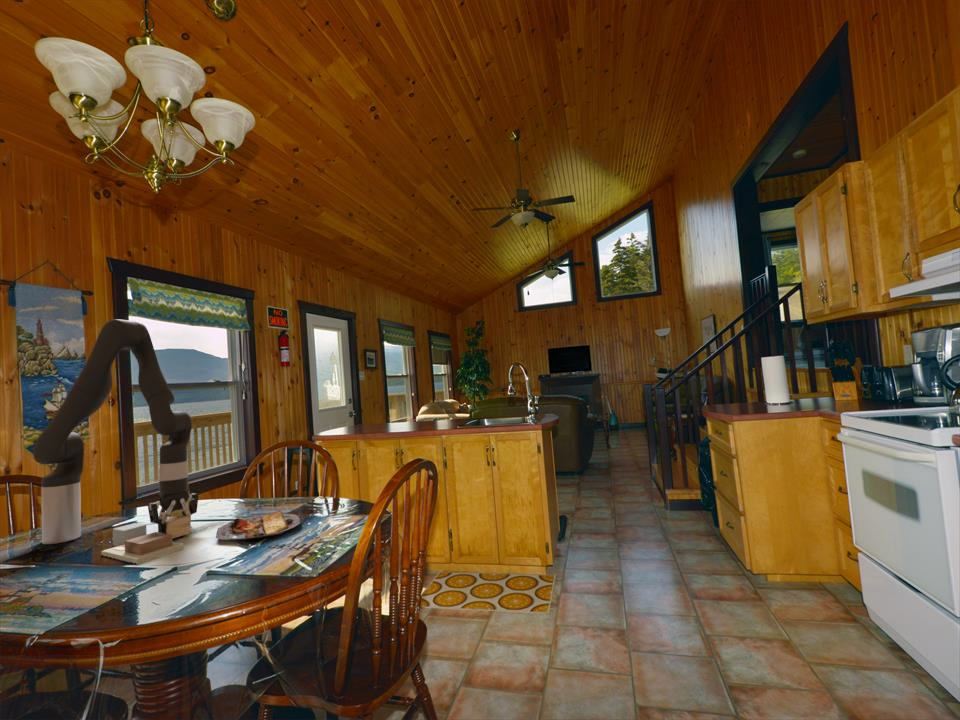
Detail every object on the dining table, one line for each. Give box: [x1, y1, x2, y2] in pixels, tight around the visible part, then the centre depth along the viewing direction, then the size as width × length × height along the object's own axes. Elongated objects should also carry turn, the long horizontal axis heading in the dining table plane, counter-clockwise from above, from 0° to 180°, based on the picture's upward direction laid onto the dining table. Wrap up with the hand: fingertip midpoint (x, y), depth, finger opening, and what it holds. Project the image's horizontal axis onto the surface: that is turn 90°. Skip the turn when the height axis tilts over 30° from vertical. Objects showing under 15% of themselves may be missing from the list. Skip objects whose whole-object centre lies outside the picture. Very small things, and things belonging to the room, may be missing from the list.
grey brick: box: [112, 522, 147, 547], centre depth 141 cm, size 6×6×5 cm
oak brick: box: [165, 515, 191, 540], centre depth 144 cm, size 6×6×5 cm
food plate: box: [215, 509, 301, 541], centre depth 147 cm, size 25×23×4 cm
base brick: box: [125, 531, 173, 555], centre depth 131 cm, size 8×8×3 cm
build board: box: [100, 541, 185, 565], centre depth 132 cm, size 18×12×1 cm, turn 62°
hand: (174, 532), depth 144 cm, fingers closed on oak brick, 6 cm apart
